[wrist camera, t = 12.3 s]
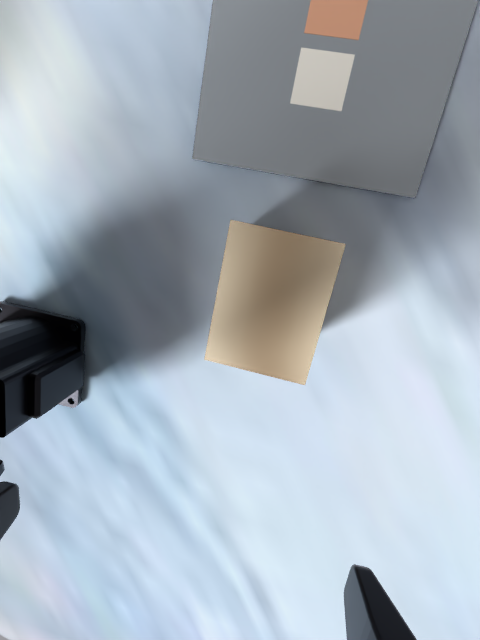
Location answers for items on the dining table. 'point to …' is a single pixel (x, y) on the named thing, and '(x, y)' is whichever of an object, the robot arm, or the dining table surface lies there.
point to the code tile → (329, 87)
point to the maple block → (271, 300)
